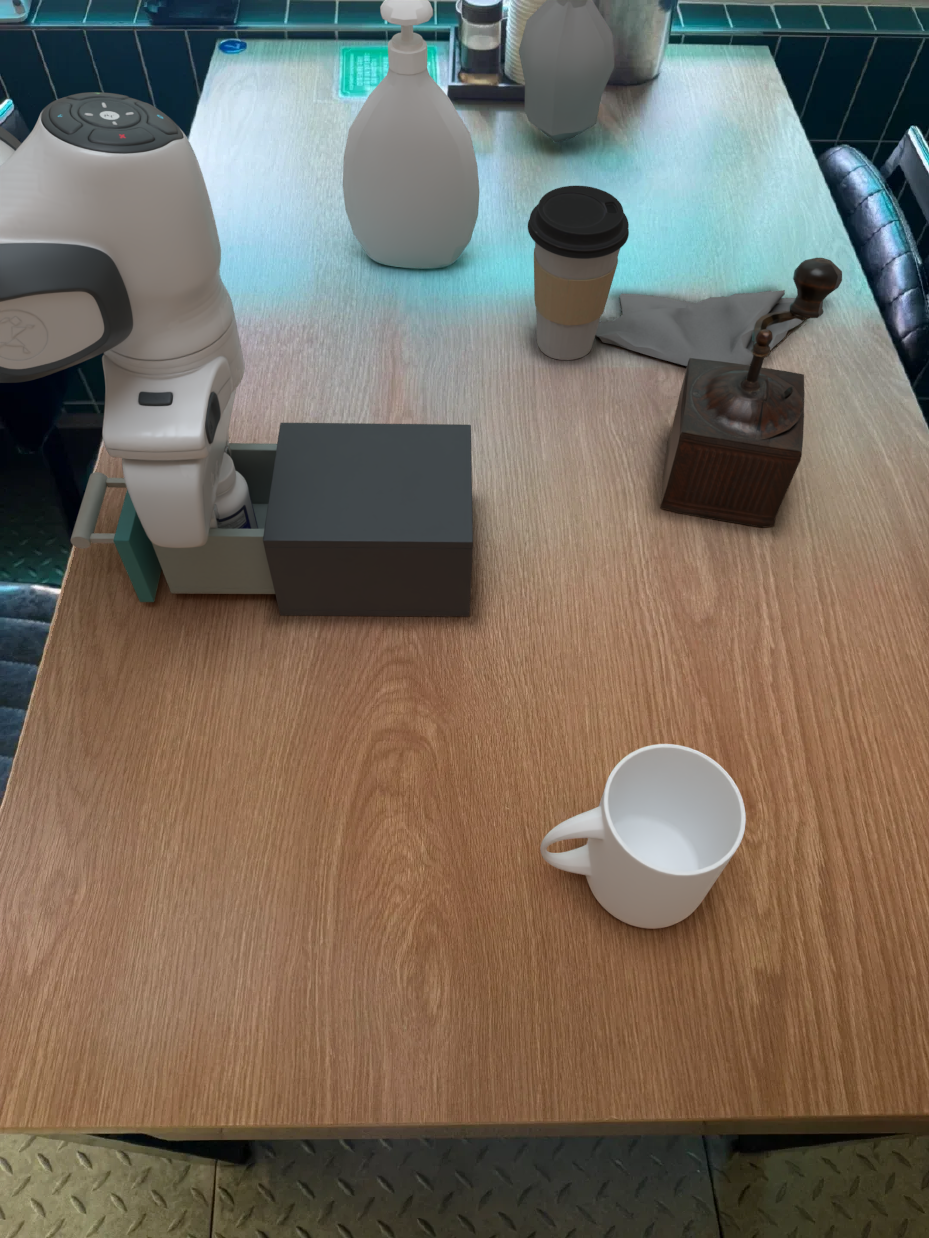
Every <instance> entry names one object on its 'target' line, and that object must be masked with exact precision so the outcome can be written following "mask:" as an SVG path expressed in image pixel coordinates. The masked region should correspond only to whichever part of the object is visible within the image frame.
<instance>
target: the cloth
mask: <svg viewBox="0 0 929 1238" xmlns="http://www.w3.org/2000/svg"><path fill="white" fill-rule="evenodd" d="M785 295H786V291H785V289H783V290H773V291H772V290H766V291H758V292H743V293H734V294H731V295H729V296H712V297H711V296H709V297H708V298H705V299H703V300H700V301H696V302H692V301H687V300H686V301H685V300H681V299H674V298H670V297H663V296H657V295H646V294H637V293H621V294H619V302H620V308H621V315H620V316H618V317H617V318H616V319H614V320H606V321H599V324H598V328H597V331H596V335H595V338H599V339H600V340H601V342H602V343H604V344H609V345H614V346H617V347H621V348H623V349H626V350H629V351H633V352H636V353H640V354H643V355H646V356H650V357H653V358H656V359H659V360H663V361H666V362H667V361H668V362H670V363H674V364H677V365H681V366H685V367H687V364H688V361H689V358H695V359H703V360H712V361H721V362H728V363H735V364H742V365H749V366H750V364H751V361H752V358H753V355H752V353H751V350H752V346H753V343H752V333H753V329H754V326H755V323H756V321H757V320H758V319H759V318H760V317H761V316H764V315H766V314H769V313H774V312H781V311H788V310H790V309H789V307H790V304H791V303H793V301H794V300H795V298H796V297H786V298H785V297H784V296H785ZM803 322H804V321H801V320H800V319H796V318H795V319H792V320H788V321H785V322H781V323H776V324H773V325H770V326H768V327H766V329H768V330H770V331H771V332H772V334H773V339H772V341H771V343H770V344H769V347H770V351H771V350H772V349H773V348H775V346H776V345H778V344H779V343H781V341H782V340H784V338H785V337H786V335H787V334H788V332H789V331H790V330H792V329H794V328H796V327H797V326H799V325H801V324H802V323H803Z"/></svg>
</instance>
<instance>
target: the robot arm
mask: <svg viewBox="0 0 929 1238" xmlns="http://www.w3.org/2000/svg"><path fill="white" fill-rule="evenodd" d="M221 263H222V247H221V241H220V235H219V232H218V227H217V223H216V218H215V214H214V210H213V206H212V202H211V199H210V195H209V191H208V189H207V185H206V181H205V177H204V175H203V172H202V168H201V166H200V163H199V160H198V158H197V155H196V153H195V150H194V149H193V146H192V144H191V142H190V140H189V138H188V137H187V136H186V134H185V132H184V131H183V130H182V129H181V128H180V126H179V124H177V123H176V122H175V121H174V120H173V119H172V118H171V117H169V116H168V115H167V114H166V113H164V112H162V111H161V110H160V109H158V108H157V107H155V106H154V105H152V104H150V103H148V102H146V101H145V102H144V101H142V100H139V99H137V98H132V97H130V96H128V95H125V94H124V95H123V94H119V93H112V92H102V91H101V92H97V91H96V92H95V91H94V92H93V91H92V92H91V91H90V92H80V93H75V94H71V95H68V96H64V97H62V98H58V99H56V100H53V101H51V102H50V103H49V104H47V105H46V106H45V107H44V108H43V109H42V110H41V112H40V114H39V116H38V119H37V121H36V123H35V125H34V127H33V129H32V130H31V131H30V133H29V134H28V135H27V137H26V138H25V139H24V140H23V142H21V141H20V140H19V139H18V138H17V137H15V136H14V135H13V134H12V133H11V132H9V131H8V130H6V129H5V128H4V127H2V126H1V125H0V384H18V383H24V382H25V383H26V382H30V381H35V380H37V379H41V378H44V377H46V376H50V375H53V374H56V373H58V372H61V371H63V370H66V369H69V368H71V367H74V366H77V365H79V364H82V363H84V362H86V361H88V360H90V359H94V358H95V357H98V356H99V355H102V354H103V355H102V357H101V362H102V369H103V376H104V386H105V389H104V390H105V393H104V406H103V417H102V418H103V419H102V433H101V435H102V441H103V444H104V446H105V447H104V448H105V450H106V452H107V454H108V455H109V456H110V457H111V458H114V459H115V458H116V459H121V467H122V474H123V478H124V480H125V483H126V487H127V488H126V491H127V490H128V493H129V495H130V498H131V500H132V503H133V505H134V508H135V510H136V512H137V515H138V517H139V519H140V522H141V524H142V526H143V528H144V530H145V532H146V534H147V536H148V538H149V539H150V540H151V542H152V543H154V544H155V545H158V546H162V547H169V548H192V547H200V546H203V545H205V544H206V542H207V539H208V534H209V528H216V529H217V528H218V523H219V517H220V516H219V514H218V509H217V505H216V504H214V502H215V497H216V492H217V487H218V482H219V476H220V471H221V466H222V461H223V456H224V452H225V453H226V454H228V455H229V456H230V457H231V454H232V453H231V449H230V444H229V443H230V432H229V431H230V426H231V425H230V424H231V420H232V414H233V410H234V403H235V399H236V394H237V388H238V387H239V385H240V383H241V382H242V380H243V377H244V374H245V371H246V370H245V369H246V363H245V358H244V353H243V348H242V343H241V338H240V334H239V333H240V332H239V329H238V328H239V327H238V323H237V319H236V314H235V309H234V305H233V300H232V298H231V295H230V292H229V290H228V289H227V287H226V286H225V284H224V282H223V280H222V276H221Z"/></svg>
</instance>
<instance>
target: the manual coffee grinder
mask: <svg viewBox="0 0 929 1238" xmlns="http://www.w3.org/2000/svg"><path fill="white" fill-rule="evenodd" d="M792 279H793V282H794V285H795V288H796V294H797V296H795V297H794V298H795V300H794V301H793V303H791V304H790V307H789V309H790V310H788V311H781V312H774V313H769V314H766V315H764V316H761V317H760V318H759V319H758V320H757V321H756V323H755V326H754V329H753V333H752V343H753V346H752V350H751V353H752V355H753V358H752V361H751V364H749V365H742V364H735V363H728V362H721V361H712V360H703V359H695V358H689V361H688V364H687V366H686V369H685V371H684V376H683V380H682V383H681V388H680V391H679V396H678V400H677V403H676V408H675V412H674V417H673V420H672V426H671V429H670V433H669V436H668V439H667V444H666V450H665V456H664V464H663V473H662V484H661V496H660V509H663V510H665V511H666V510H667V511H670V512H674V513H679V514H683V515H687V516H688V515H689V516H695V517H699V518H706V519H711V520H717V521H721V522H729V523H734V524H738V525H739V524H740V525H746V526H750V527H751V526H752V527H758V528H767V527H769V528H770V527H774V526H775V521H776V519H777V518H776V517H777V515H778V512H779V511H780V508H781V507H782V503H783V501H784V498H785V497H786V494H787V492H788V491H789V488H790V485H791V483H792V480H793V478H794V476H795V474H796V472H797V469H798V467H799V464H800V462H801V460H802V458H803V457H802V456H803V444H804V431H805V429H804V428H805V394H806V393H805V374H803V373H799V372H793V371H787V370H782V369H776V368H775V369H774V368H769V367H763V365H764V364H763V363H764V360H765V358H767V357H768V356H769V355H770V353H771V350H770V347H769V344H770V343H771V341H772V339H773V334H772V332H771V331H770V330H768V329H766V327H768V326H770V325H773V324H776V323H781V322H785V321H788V320H792V319H795V318H796V319H800V320H801V321H803V322H804V321H805V320H808V319H818V318H820V317H821V316H822V315H823V314H824V308H823V307H824V306H823V304H824V300H825V299H826V298H827V297H828V296H829V295H830V294H831V293H833V292H834V291H836V290H838V289H839V287H840V285H841V284H842V282H843V271H842V270H841V268H839V267H838V266H837V265H836V264H835V263H834V262H833V261H832V260H830V259H827V258H825V257H813V258H808V259H805V260H803V261H802V262H800V263H799V264H798V265H797V267H796V268H795V269H794V271H793V277H792Z"/></svg>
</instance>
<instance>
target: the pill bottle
mask: <svg viewBox="0 0 929 1238" xmlns="http://www.w3.org/2000/svg"><path fill="white" fill-rule="evenodd" d="M214 504H216V505H217V509H218V514H219V516H220V517H219V523H218V528H217V529H258V525H257V521H256V517H255V513H254V509H253V505H252V501H251V496H250V492H249V488H248V485H247V483H246V480H245V479H244V477H243V476H242V475H241V474H240V473H239V472H237V471H236V470H235V467H234V464H233V461H232V459H231V457H230V456H229V455H228V454H226V453H225V452H224V456H223V461H222V466H221V471H220V476H219V482H218V487H217V492H216V497H215V502H214Z"/></svg>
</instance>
